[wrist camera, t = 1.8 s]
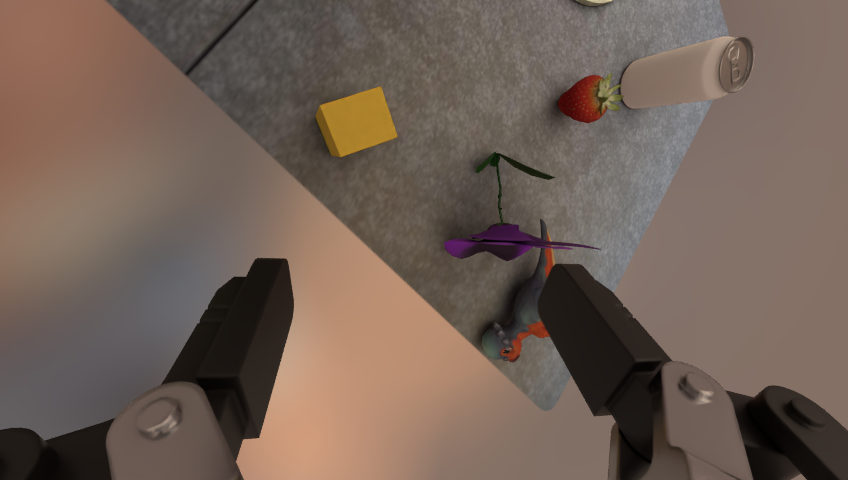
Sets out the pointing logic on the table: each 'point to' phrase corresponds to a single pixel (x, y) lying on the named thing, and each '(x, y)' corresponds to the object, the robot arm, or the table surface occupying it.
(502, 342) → the toy
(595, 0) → the plate
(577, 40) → the table surface
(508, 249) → the flower
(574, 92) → the fruit
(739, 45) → the can
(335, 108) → the sponge
